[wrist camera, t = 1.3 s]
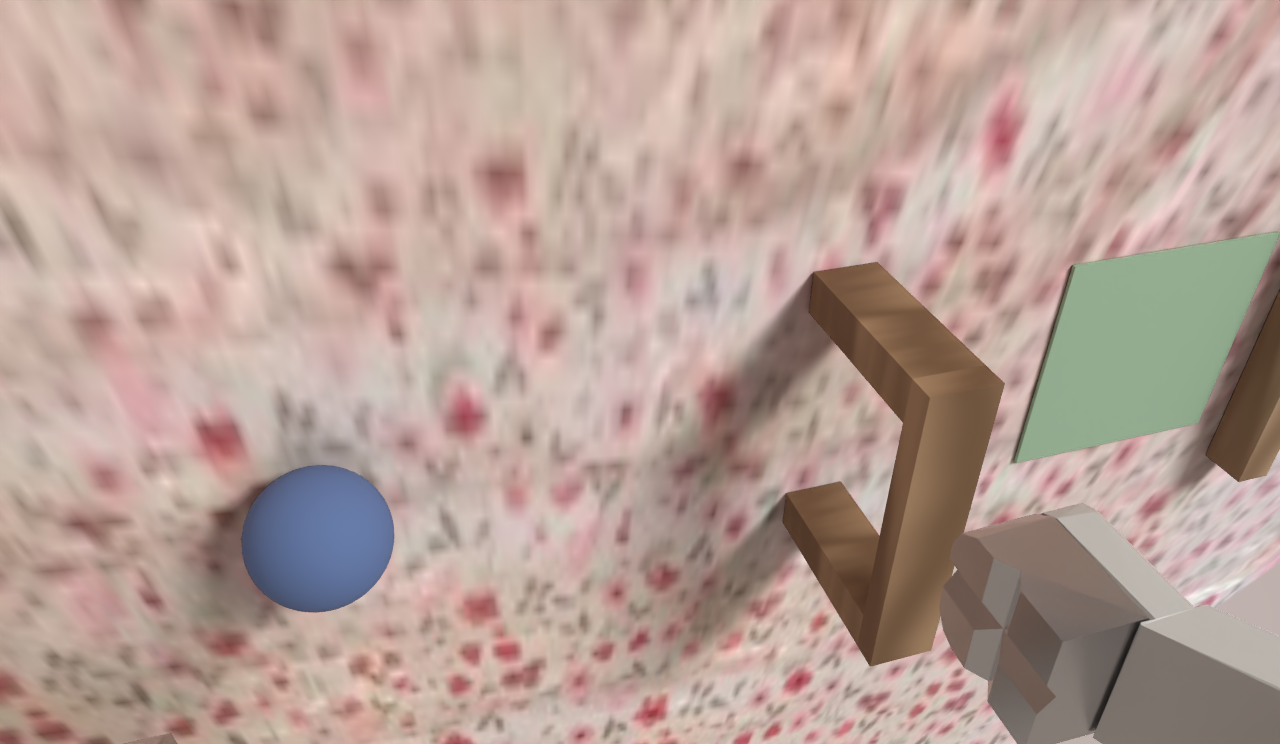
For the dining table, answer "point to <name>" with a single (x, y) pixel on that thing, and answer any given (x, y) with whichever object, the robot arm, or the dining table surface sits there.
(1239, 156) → the dining table surface
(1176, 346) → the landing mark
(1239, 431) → the stopper wall
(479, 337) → the dining table surface
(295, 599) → the ball
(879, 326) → the bridge
